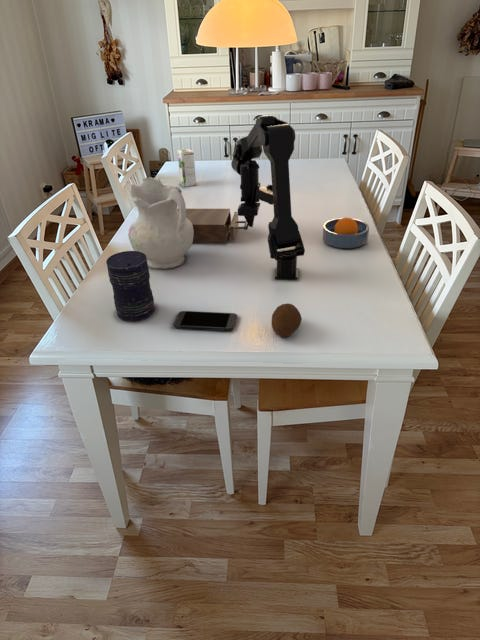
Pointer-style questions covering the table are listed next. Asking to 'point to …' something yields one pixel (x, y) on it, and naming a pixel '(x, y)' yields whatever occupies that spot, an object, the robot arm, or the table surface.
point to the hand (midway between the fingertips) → (251, 226)
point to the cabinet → (208, 225)
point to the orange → (346, 226)
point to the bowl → (345, 240)
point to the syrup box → (186, 167)
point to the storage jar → (131, 285)
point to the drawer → (233, 225)
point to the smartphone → (205, 320)
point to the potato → (286, 320)
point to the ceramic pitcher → (160, 224)
